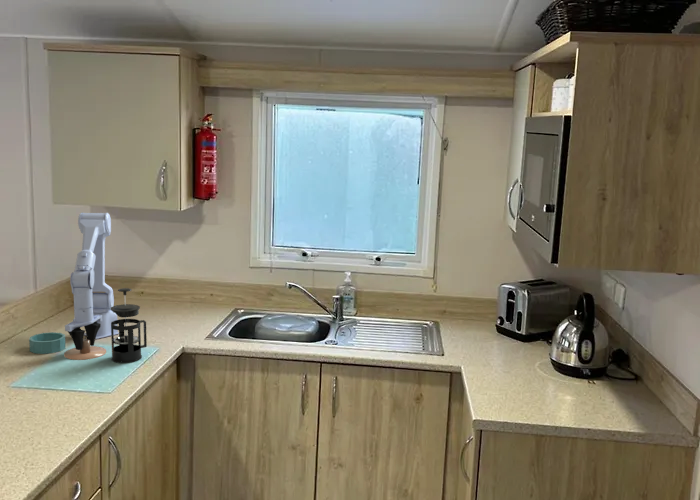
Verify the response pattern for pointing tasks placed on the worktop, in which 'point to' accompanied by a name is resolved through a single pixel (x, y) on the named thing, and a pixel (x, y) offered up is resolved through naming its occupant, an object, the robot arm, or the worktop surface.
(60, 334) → the bowl
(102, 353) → the lid
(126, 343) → the french press
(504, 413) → the worktop surface
